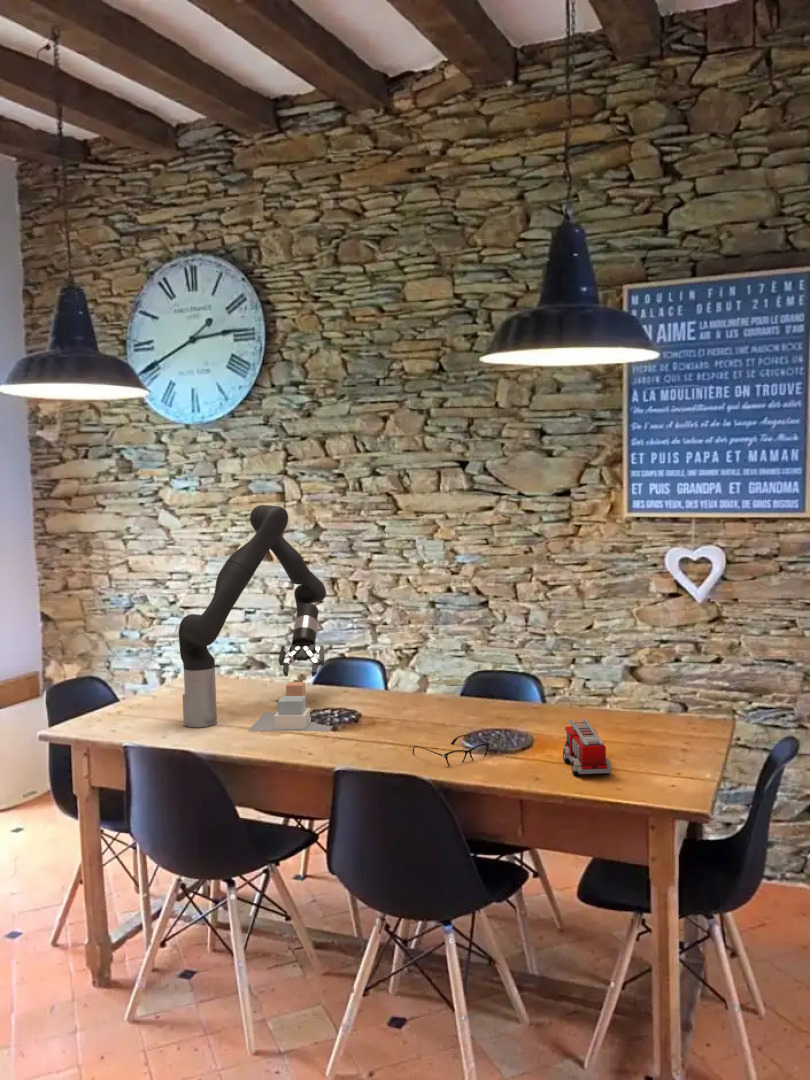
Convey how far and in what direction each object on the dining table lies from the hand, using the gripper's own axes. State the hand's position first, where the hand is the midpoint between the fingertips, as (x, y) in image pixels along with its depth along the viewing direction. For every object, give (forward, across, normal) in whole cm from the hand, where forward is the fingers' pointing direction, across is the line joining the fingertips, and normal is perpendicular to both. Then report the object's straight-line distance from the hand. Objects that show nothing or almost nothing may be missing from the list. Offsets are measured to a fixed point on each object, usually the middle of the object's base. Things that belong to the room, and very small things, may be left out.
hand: (299, 675), depth 292 cm
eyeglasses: (+41, +48, -23) cm, 67 cm away
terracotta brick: (+13, 0, +3) cm, 13 cm away
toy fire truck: (+48, +82, -31) cm, 100 cm away
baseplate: (+18, +1, -1) cm, 18 cm away
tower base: (+21, +1, -5) cm, 21 cm away
